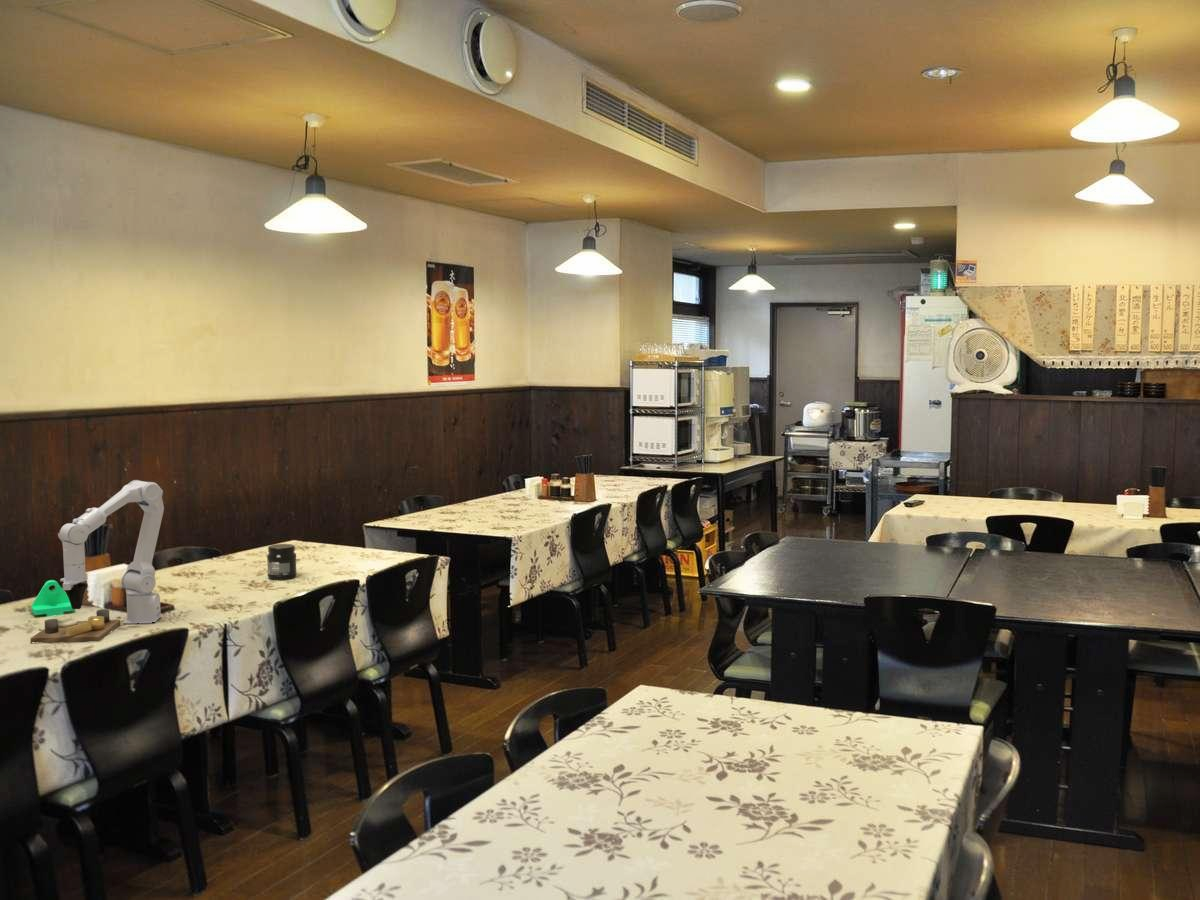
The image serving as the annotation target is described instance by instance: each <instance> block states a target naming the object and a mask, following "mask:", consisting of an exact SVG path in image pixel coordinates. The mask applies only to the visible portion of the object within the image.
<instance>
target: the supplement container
mask: <svg viewBox="0 0 1200 900" xmlns="http://www.w3.org/2000/svg"><path fill="white" fill-rule="evenodd" d="M295 551H296V546H295V545H294V544H291V543H277V544H271V545H269V546H268V547H267V552H268V554H267V555H266V559H267V564H266V565H267V578H268V579H269V580H271V581H287V580H291V579H294V578H296V577H297V574H298V573H297V553H296V552H295Z"/></svg>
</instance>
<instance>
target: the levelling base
mask: <svg viewBox="0 0 1200 900" xmlns="http://www.w3.org/2000/svg"><path fill="white" fill-rule="evenodd" d="M95 612H96V616H103V617H104V627H105V628H104V629H100V630H90V631H86V632H83V633H79V634H76V635H72V636H66V628H67V627H71V626H74V625H78V624H82V623H85V622H88V620H77V619H74V618H73V619H72V618H69V619H67V618H65V619H64V618H63V619H57V618H50V619H46V620H44V629H42V630H41V631H39V632H38V633H36V634H35V635H33V636H31V637H30V643H31V642H63V643H86V642H85V641H99V642H101V641H100V640H103V639H105V638H106V637H107V636H109V635H110V634H111V633H112V632H114V631H115V630H116V629H117V628H118V627H120V626H121V620H119V619H116V620H110V618H111V617H110V609H108V608H106V609H105V608H104V609H97V610H96V611H95ZM119 625H120V626H119ZM115 628H116V629H115ZM114 629H115V630H114ZM111 631H112V632H111ZM110 632H111V633H110ZM105 636H106V637H105Z"/></svg>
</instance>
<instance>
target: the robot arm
mask: <svg viewBox="0 0 1200 900" xmlns="http://www.w3.org/2000/svg"><path fill="white" fill-rule="evenodd" d="M163 494H164V491H163V489H162V488H161V486H159V484H157V483H156V482H153V481H144V480H143V481H142V480H139V479H133V480H131V481H130V482H128V484H125V485H124V486H123V487H122V488H121V490H120V491H118V492H117V493H115V494H114V495H113V496H112V497H111V498H109V499H108V500H106V502H104V503H103V504H102V505H100V506H99V507H90V508H87V509H85V512H84V513H83V514H81V515H80V516H79V517H77V518H73V519H72V523H71V522H69V523H65V524H64V525H62V527H61V528H60V530H59V532H58V533H57V536H58V539H59V540H60V541H61V543H62V554H63V573H64V577H63V578H60V580H59V582H63V583H62V589H63V590H64V591H65V593H66V594H67V596H68V598H69V600H70V604H71V607H72V609H75V610H81V609H82V605H83V600H84V596H85V592H86V590H87V588H88V583H87V582H86V581H87V580H88V572H87V571H86V553H85V542H86V541H87V540H88V537H89V535H90V534H92V532H93V533H94V531H95V530H97V529H98V528H100V527H101V526H102V525H104V524H105V523H106V521H107V517H108V516H110V515H111V514H112V513H114V512H116V511H117V510H119V509H120V508H122V507H123V506H125V505H127V504H129V503H136V504H138V505H139V507H140V508H141V509H142V511H143V517H142V521H141V525H140V530H139V535H138V538H137V543H136V547H135V552H134V556H133V560H132V561H131V562H130V564H128V565H127V568H126V571H125V572H124V573H123V575H122V576H121V579H120V580H121V586H122V587H123V589H124V590H125V593H126V594H125V595H126V614H127V615H126V619H125V620H124V621H123V622H122V624H124V625H126V624H127V625H128V624H129V625H133V624H135V625H137V623H139V624H153V623H152V622H155V623H156V622H158V621H159V620H160V619H161V618H162V615H161V596H160V594H159V593H158V592H153V590H154V589H155V587H156V578H155V577H156V570H155V567H154V566H153V559H154V554H155V551H156V547H157V542H158V538H159V534H160V533H159V532H160V528H161V524H162V520H163V516H164V512H165V511H164V510H165V506H164V501H163ZM160 617H161V618H160ZM159 618H160V619H159Z"/></svg>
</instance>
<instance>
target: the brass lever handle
mask: <svg viewBox="0 0 1200 900" xmlns="http://www.w3.org/2000/svg"><path fill="white" fill-rule="evenodd" d="M87 621H88V622H85V623H82V624H78V625H74V626H71V627H67V628H66V636H72V635H76V634H79V633H83V632H86V631H90V630H100V629H104V628H105V627H104V617H103V616H97V615H95V616H90V617H88V618H87Z"/></svg>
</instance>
